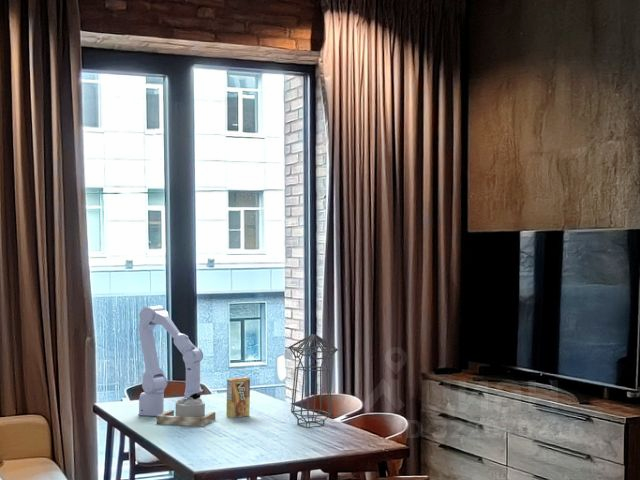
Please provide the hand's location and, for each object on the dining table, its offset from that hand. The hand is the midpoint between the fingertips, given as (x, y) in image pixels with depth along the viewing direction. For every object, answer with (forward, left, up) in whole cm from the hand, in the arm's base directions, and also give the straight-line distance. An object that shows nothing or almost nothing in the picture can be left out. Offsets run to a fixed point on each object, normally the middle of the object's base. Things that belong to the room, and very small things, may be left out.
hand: (192, 412), depth 348 cm
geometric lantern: (+49, -1, -2) cm, 49 cm away
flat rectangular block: (0, -7, -2) cm, 7 cm away
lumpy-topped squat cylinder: (+1, -6, -2) cm, 6 cm away
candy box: (+16, +8, -2) cm, 18 cm away
